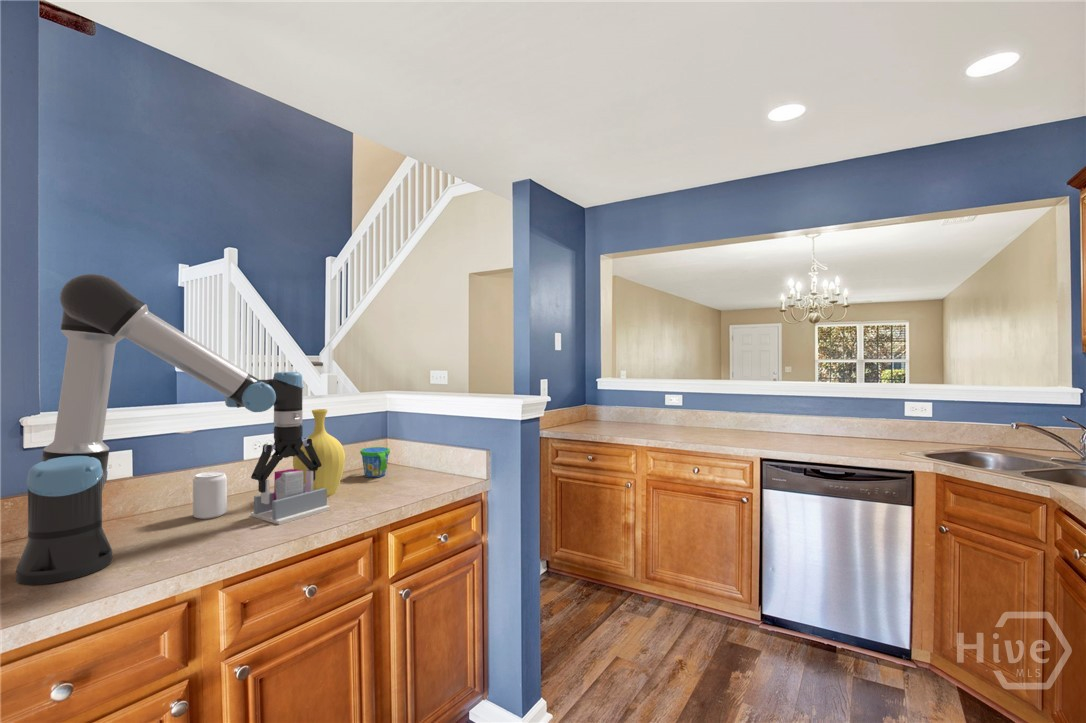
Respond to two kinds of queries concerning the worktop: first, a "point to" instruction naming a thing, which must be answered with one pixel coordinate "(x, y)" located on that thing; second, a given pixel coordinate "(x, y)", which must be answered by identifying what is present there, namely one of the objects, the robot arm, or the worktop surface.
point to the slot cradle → (291, 506)
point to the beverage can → (209, 494)
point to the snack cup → (375, 461)
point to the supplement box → (288, 483)
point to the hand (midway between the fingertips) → (288, 497)
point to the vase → (324, 456)
